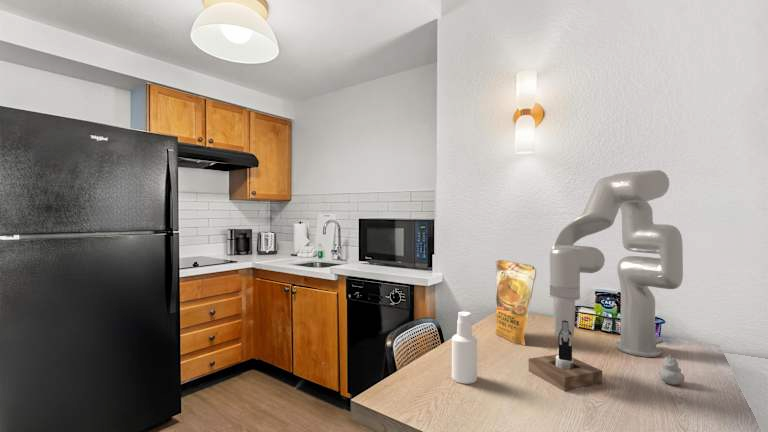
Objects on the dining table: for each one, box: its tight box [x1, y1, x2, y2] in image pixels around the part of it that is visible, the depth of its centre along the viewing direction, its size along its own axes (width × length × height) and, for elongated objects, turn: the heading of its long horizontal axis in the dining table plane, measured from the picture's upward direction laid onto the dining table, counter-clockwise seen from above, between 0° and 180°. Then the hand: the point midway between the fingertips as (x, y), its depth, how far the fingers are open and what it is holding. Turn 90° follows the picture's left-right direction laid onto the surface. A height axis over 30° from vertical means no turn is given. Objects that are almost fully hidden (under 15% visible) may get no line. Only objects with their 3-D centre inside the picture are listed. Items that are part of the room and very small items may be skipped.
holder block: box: [528, 353, 603, 392], centre depth 100 cm, size 13×13×4 cm
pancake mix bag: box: [494, 259, 537, 346], centre depth 133 cm, size 7×19×28 cm, turn 20°
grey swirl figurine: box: [658, 354, 685, 386], centre depth 97 cm, size 5×7×8 cm
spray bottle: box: [451, 311, 478, 385], centre depth 99 cm, size 7×7×18 cm
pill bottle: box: [556, 347, 574, 370], centre depth 101 cm, size 4×4×8 cm
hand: (564, 353), depth 101 cm, fingers open, 9 cm apart
